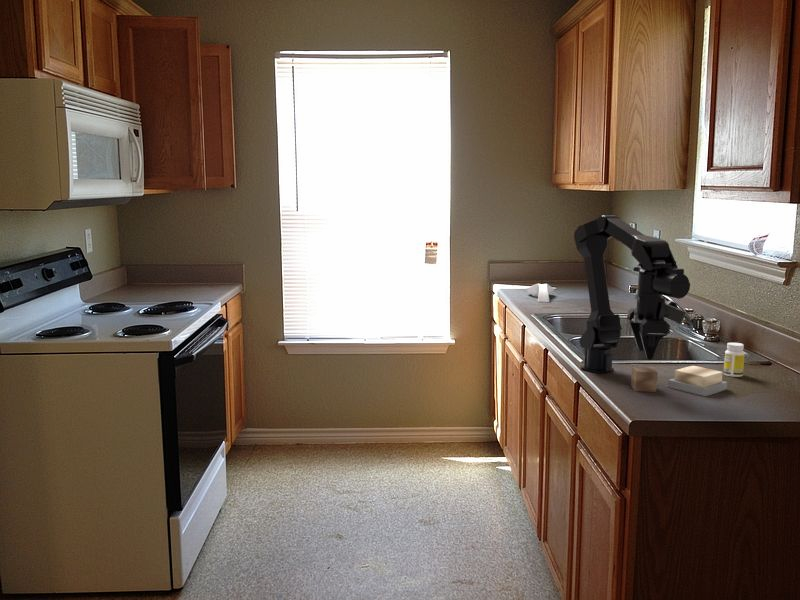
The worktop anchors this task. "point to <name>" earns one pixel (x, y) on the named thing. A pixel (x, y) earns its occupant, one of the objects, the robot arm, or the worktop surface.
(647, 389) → the walnut cube
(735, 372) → the supplement bottle
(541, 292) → the spoon rest
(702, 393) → the grey base block
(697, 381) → the birch top block
